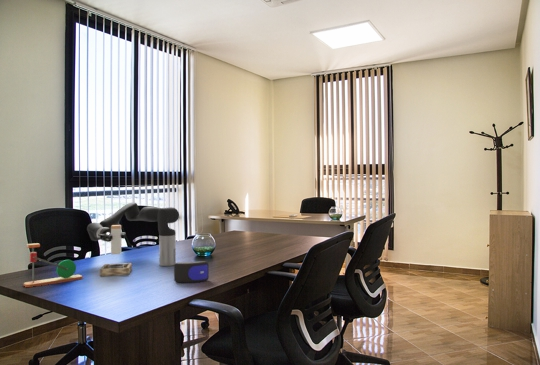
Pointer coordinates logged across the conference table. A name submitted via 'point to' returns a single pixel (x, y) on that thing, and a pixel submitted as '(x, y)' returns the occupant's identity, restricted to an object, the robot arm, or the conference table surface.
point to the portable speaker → (191, 272)
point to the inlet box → (116, 269)
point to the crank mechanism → (63, 270)
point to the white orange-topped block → (116, 239)
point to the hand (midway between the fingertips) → (118, 237)
